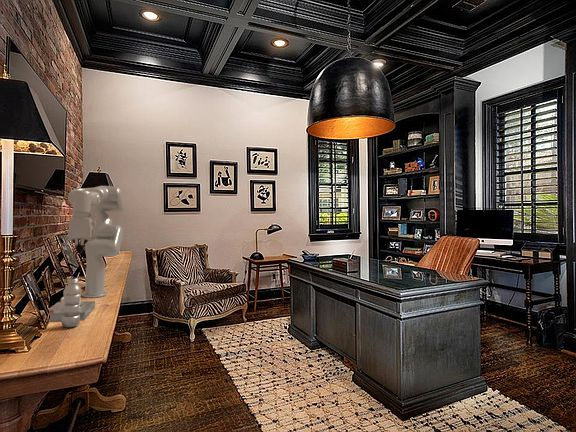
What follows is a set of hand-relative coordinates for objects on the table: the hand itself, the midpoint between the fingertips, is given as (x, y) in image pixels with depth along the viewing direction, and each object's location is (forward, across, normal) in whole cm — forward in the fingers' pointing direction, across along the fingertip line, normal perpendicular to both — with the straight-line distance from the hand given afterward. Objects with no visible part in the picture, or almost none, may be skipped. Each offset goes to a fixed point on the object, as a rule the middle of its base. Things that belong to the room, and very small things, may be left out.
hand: (79, 253), depth 174 cm
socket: (+27, 0, +11) cm, 29 cm away
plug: (+27, 0, +10) cm, 28 cm away
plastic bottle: (+27, -5, +30) cm, 41 cm away
